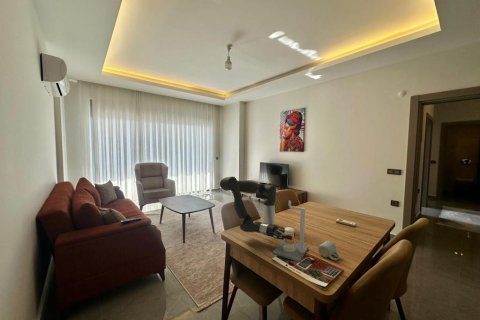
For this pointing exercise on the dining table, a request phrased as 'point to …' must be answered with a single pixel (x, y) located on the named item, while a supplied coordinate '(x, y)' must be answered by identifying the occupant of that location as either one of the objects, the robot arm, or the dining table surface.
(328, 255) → the ceramic mug
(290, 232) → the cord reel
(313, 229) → the dining table surface
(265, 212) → the robot arm
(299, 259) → the stand
